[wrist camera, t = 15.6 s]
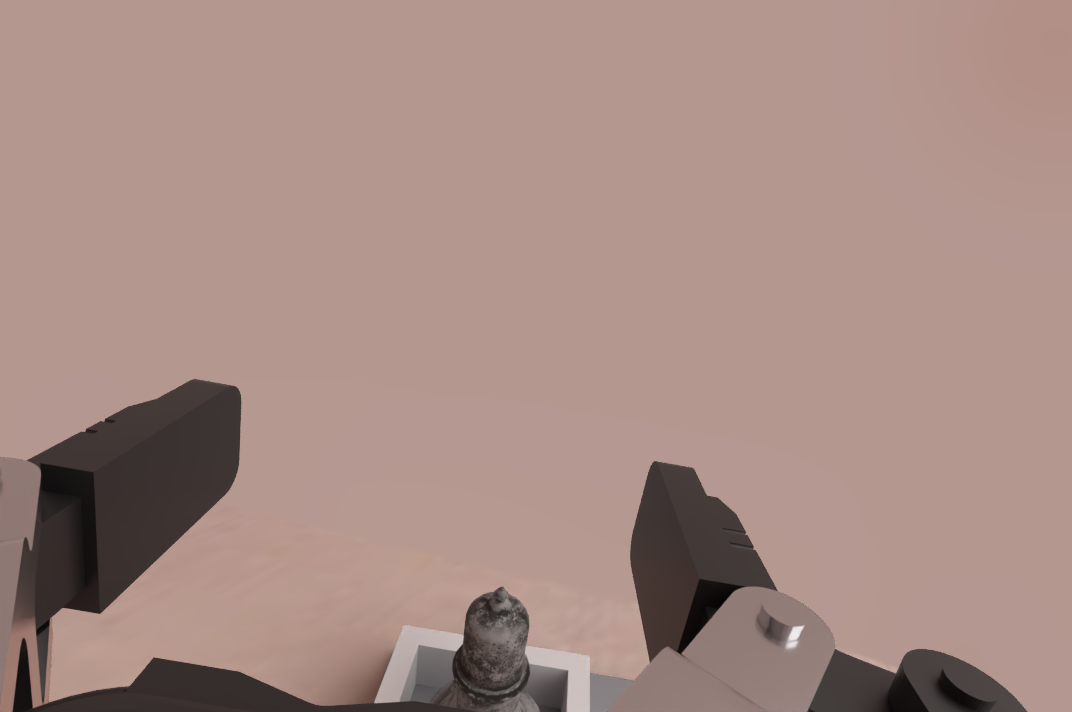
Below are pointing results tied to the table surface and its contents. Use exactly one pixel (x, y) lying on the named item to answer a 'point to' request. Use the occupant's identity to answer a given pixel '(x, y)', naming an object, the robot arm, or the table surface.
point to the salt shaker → (491, 659)
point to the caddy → (554, 684)
